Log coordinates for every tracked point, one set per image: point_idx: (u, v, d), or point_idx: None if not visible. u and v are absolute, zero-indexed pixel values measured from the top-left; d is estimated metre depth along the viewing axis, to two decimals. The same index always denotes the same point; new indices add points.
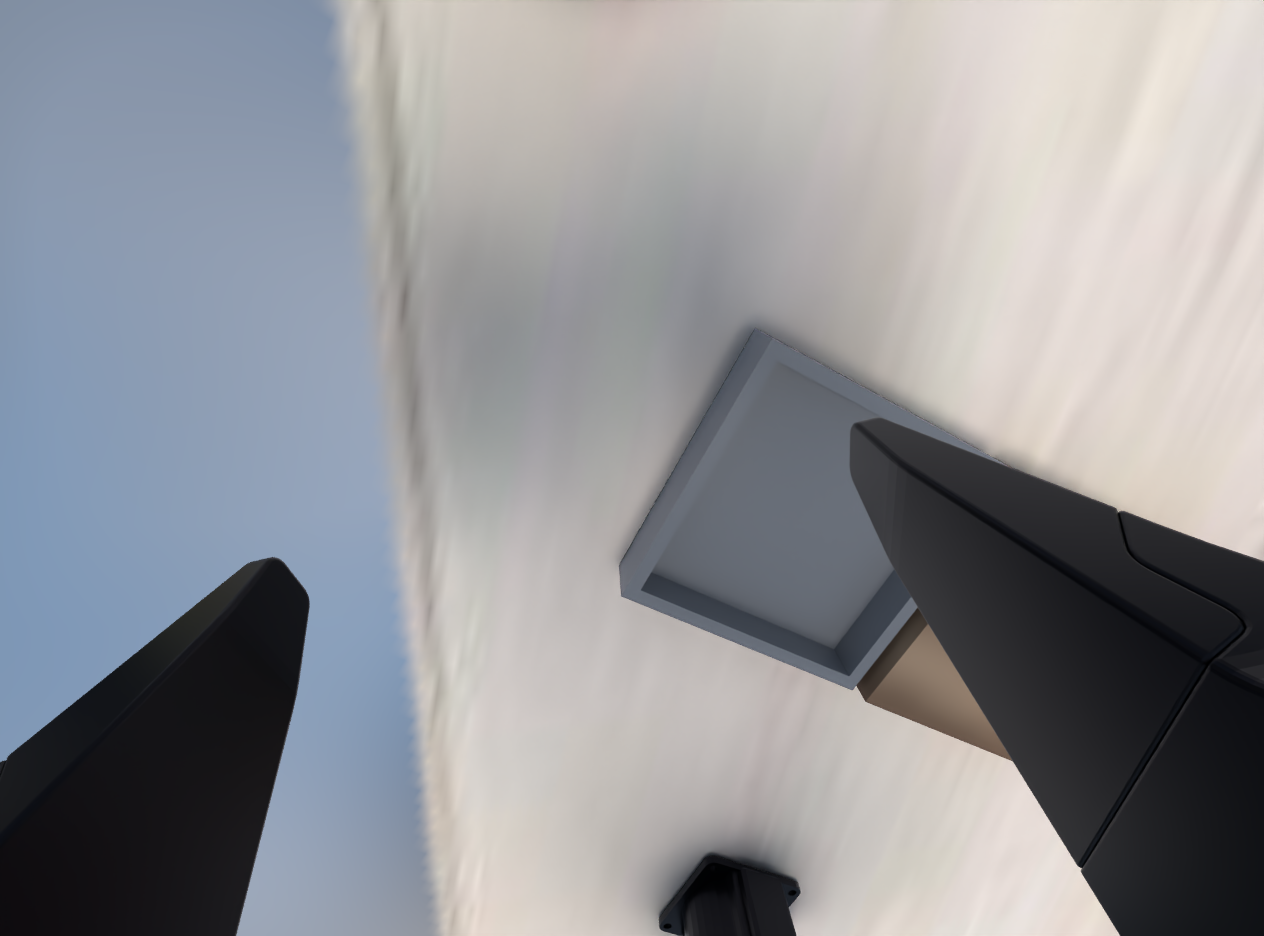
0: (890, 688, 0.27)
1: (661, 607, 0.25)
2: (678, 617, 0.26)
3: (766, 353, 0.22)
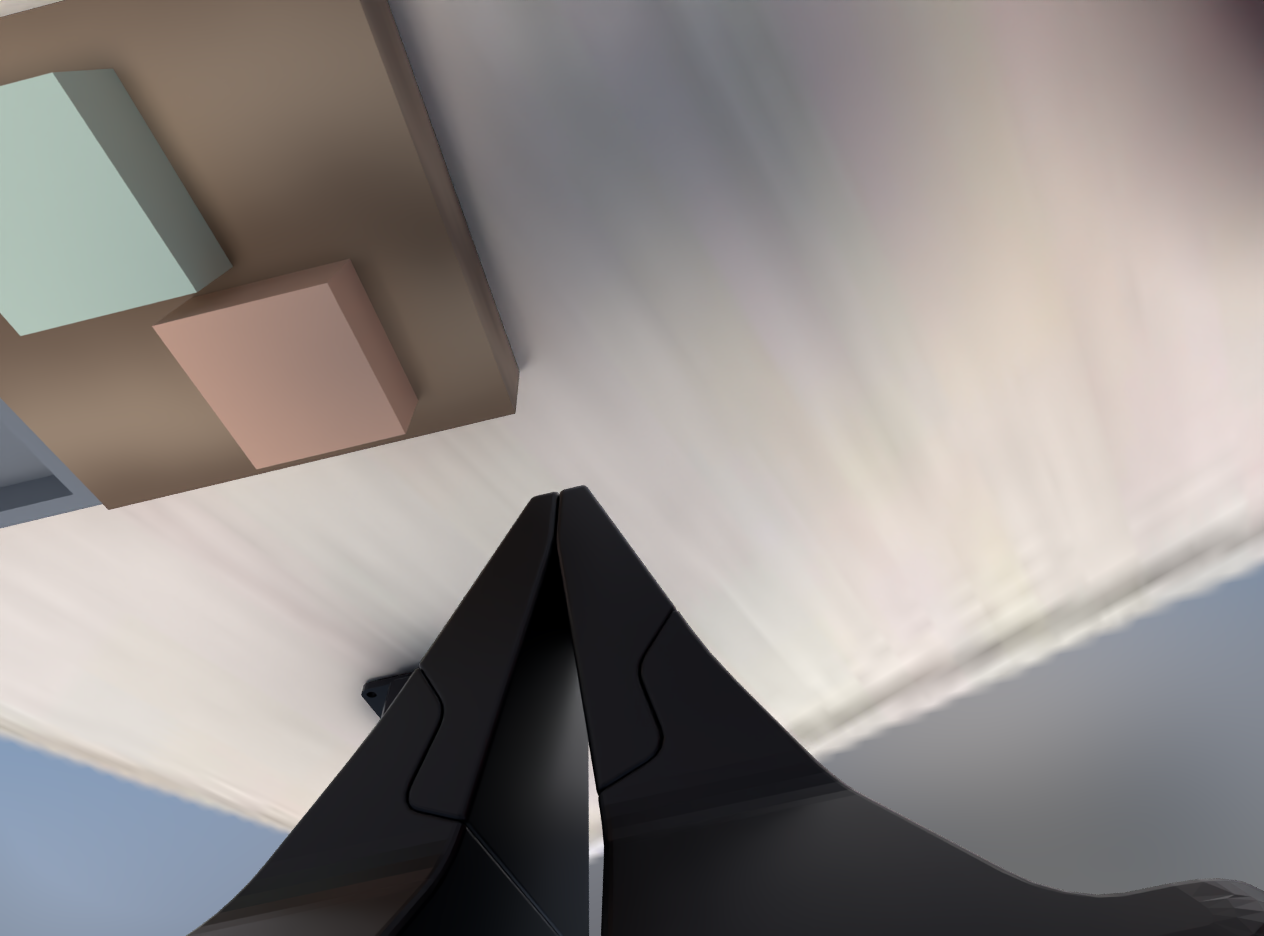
0: (101, 479, 0.19)
1: None
2: None
3: None
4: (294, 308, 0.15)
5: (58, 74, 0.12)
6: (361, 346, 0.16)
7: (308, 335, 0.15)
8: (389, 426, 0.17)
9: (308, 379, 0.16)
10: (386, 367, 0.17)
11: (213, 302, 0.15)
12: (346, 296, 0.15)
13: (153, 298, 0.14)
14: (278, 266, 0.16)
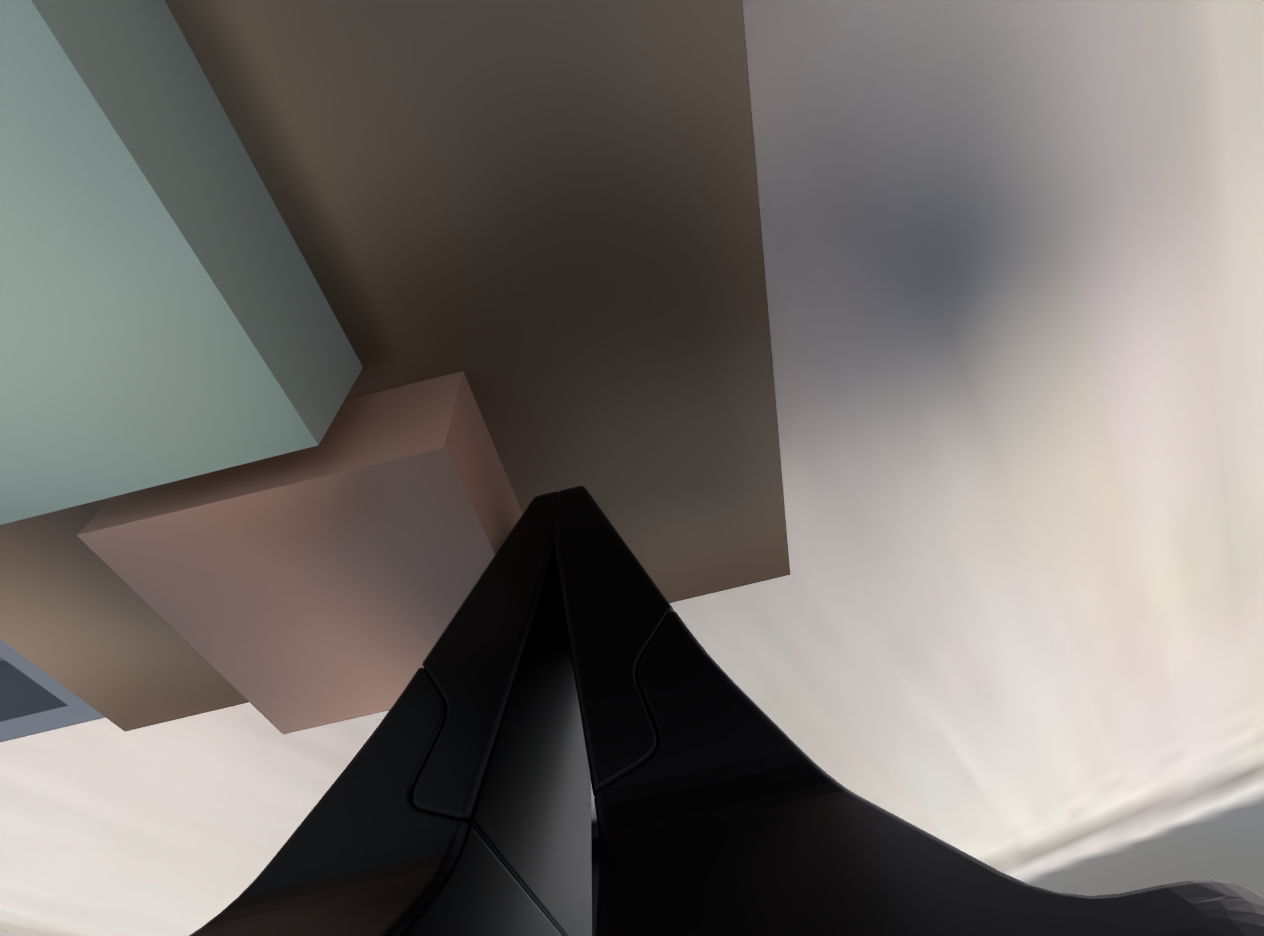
0: (113, 694, 0.12)
1: None
2: None
3: None
4: (372, 494, 0.07)
5: None
6: (494, 549, 0.08)
7: (396, 537, 0.08)
8: None
9: (389, 606, 0.08)
10: None
11: None
12: (468, 455, 0.08)
13: (226, 460, 0.07)
14: (447, 364, 0.09)
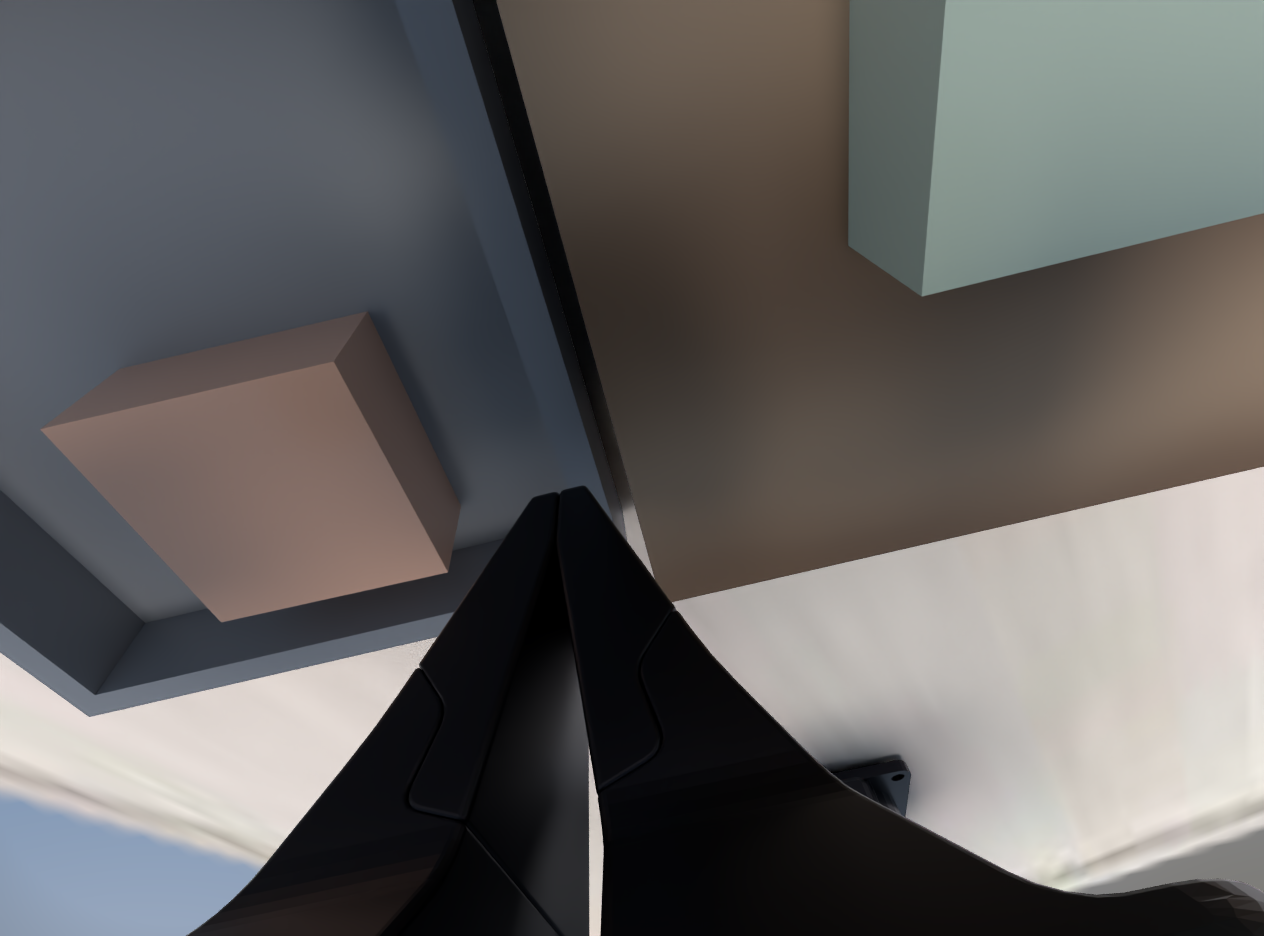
0: (682, 559, 0.11)
1: (161, 692, 0.13)
2: (206, 687, 0.13)
3: None
4: None
5: None
6: None
7: None
8: None
9: None
10: None
11: (283, 345, 0.10)
12: None
13: (1248, 208, 0.06)
14: None
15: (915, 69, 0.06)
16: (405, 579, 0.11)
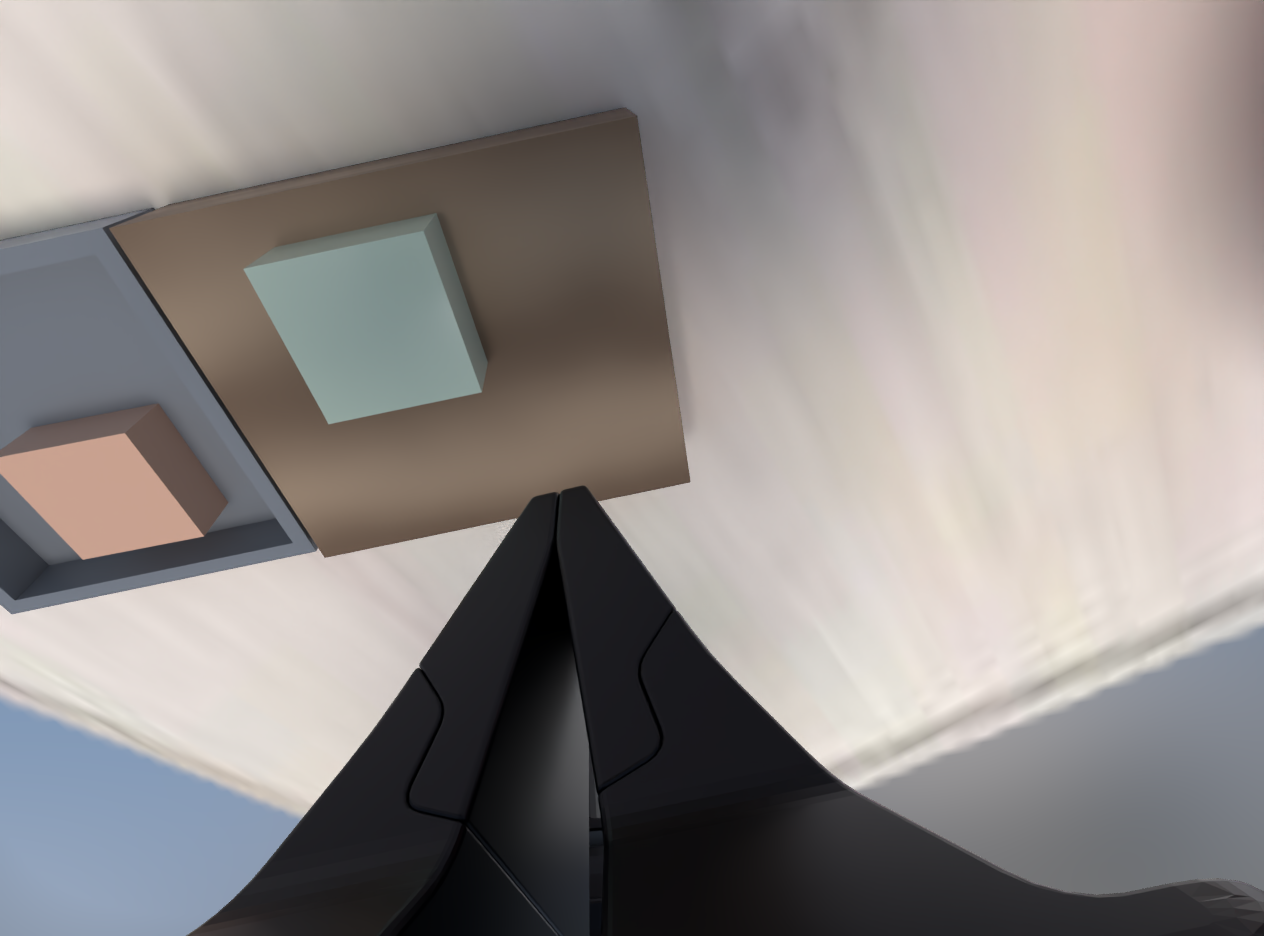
0: (326, 532, 0.22)
1: (52, 600, 0.23)
2: (78, 598, 0.23)
3: None
4: None
5: (425, 231, 0.15)
6: None
7: None
8: None
9: None
10: None
11: (109, 421, 0.20)
12: None
13: (445, 396, 0.17)
14: (525, 362, 0.19)
15: None
16: (181, 539, 0.22)
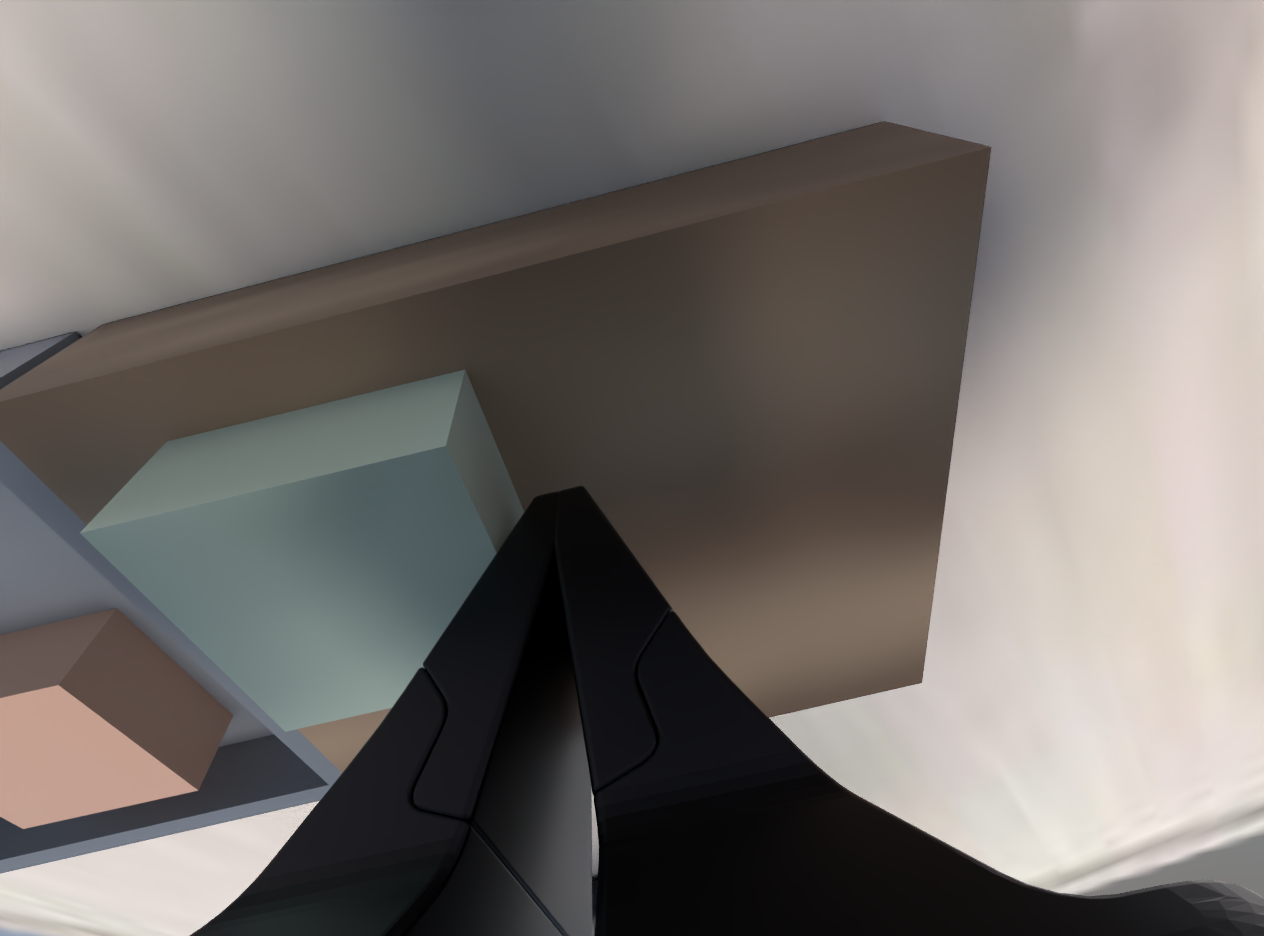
0: None
1: None
2: (25, 865, 0.16)
3: None
4: None
5: (448, 442, 0.07)
6: None
7: None
8: None
9: None
10: None
11: (41, 648, 0.13)
12: None
13: None
14: (703, 557, 0.11)
15: None
16: (166, 795, 0.15)
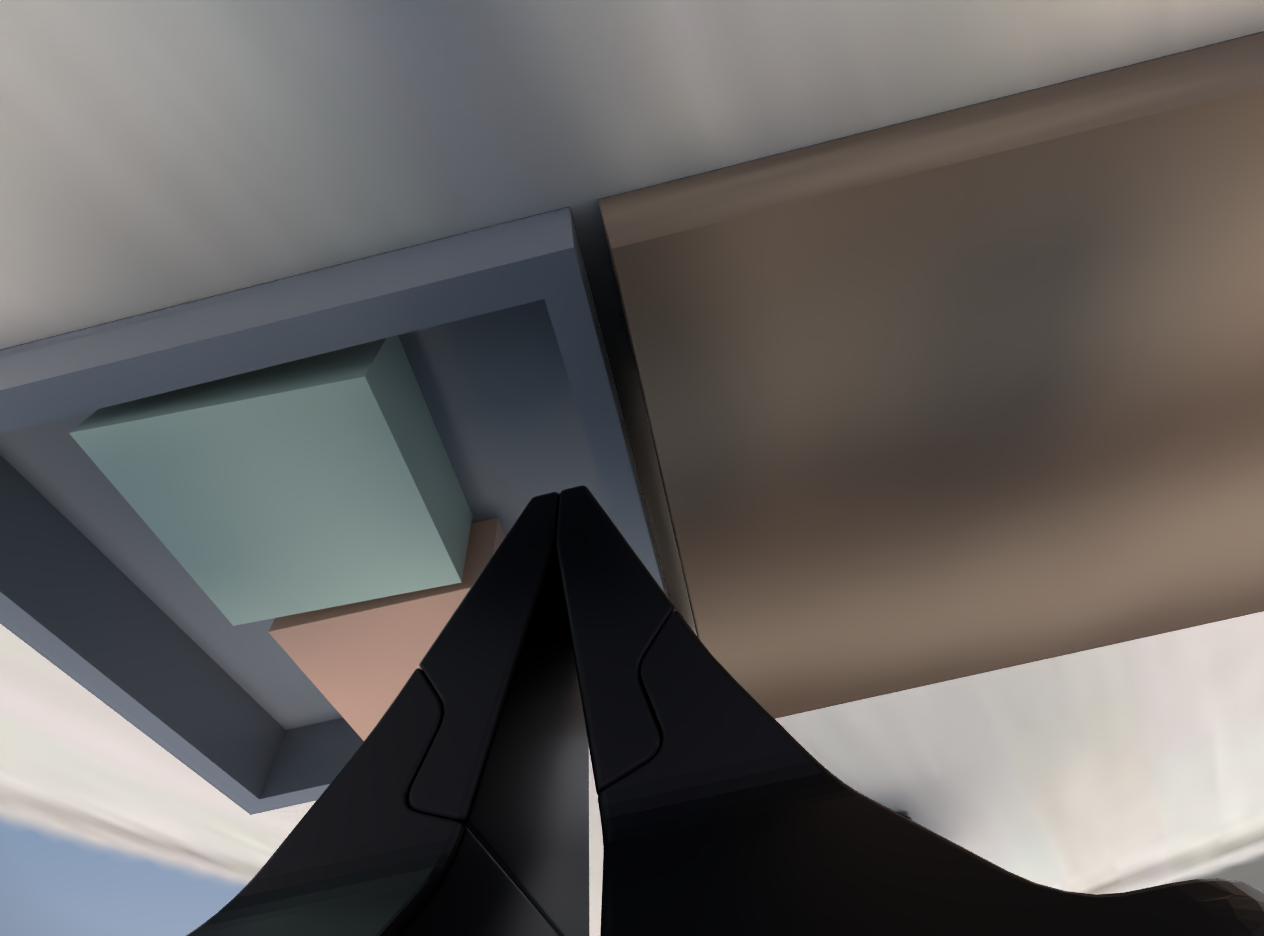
0: None
1: (311, 796, 0.15)
2: None
3: None
4: None
5: None
6: None
7: None
8: None
9: None
10: None
11: None
12: None
13: None
14: (1178, 451, 0.11)
15: (436, 449, 0.12)
16: None
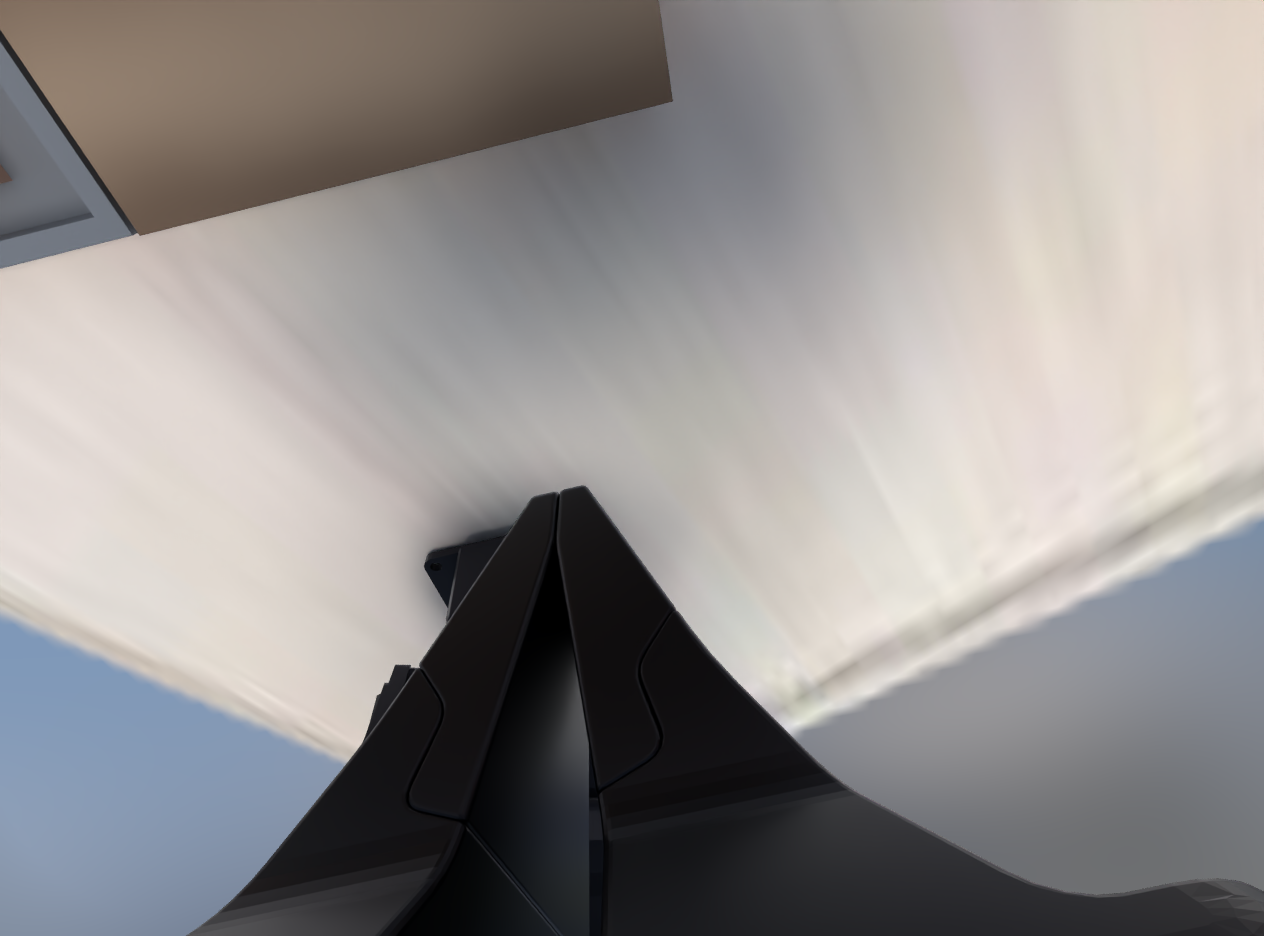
0: (132, 184, 0.15)
1: None
2: None
3: None
4: None
5: None
6: None
7: None
8: None
9: None
10: None
11: None
12: None
13: None
14: None
15: None
16: None
